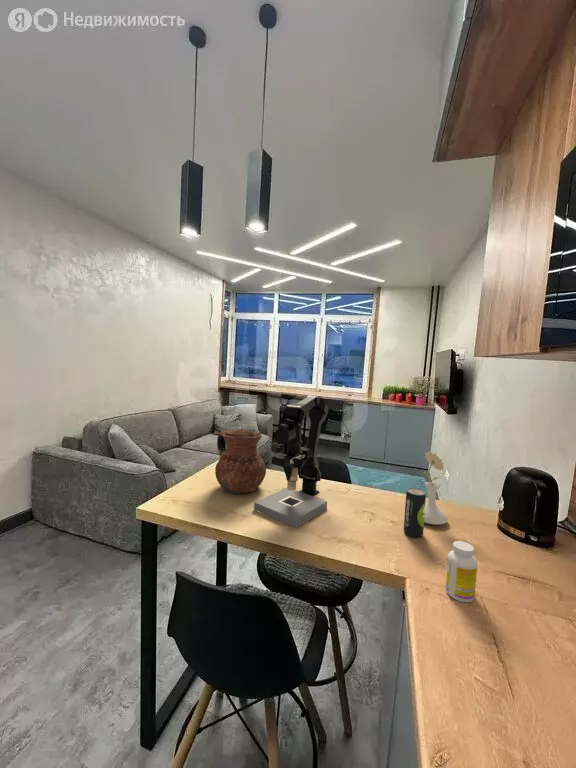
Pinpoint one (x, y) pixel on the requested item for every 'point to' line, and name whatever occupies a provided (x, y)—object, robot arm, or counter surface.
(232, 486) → the jug
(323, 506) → the socket board
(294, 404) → the robot arm
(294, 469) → the birch peg
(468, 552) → the supplement bottle
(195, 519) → the counter surface
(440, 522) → the flower in vase
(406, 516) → the beverage can
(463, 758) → the counter surface
